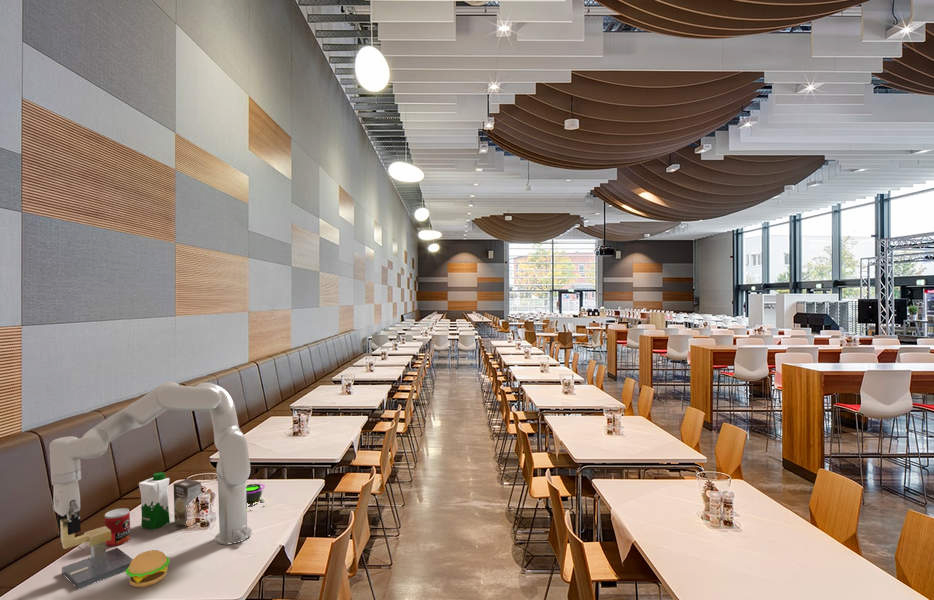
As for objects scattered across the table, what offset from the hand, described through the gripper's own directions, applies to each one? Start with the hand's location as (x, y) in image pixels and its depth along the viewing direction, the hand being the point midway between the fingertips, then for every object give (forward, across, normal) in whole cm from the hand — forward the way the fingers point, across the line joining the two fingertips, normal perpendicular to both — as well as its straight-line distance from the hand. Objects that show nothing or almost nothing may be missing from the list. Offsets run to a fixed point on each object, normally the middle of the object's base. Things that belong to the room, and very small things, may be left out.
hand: (69, 529), depth 165 cm
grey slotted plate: (+17, 0, +7) cm, 19 cm away
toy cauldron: (+18, -8, +66) cm, 69 cm away
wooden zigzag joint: (+7, 0, +4) cm, 8 cm away
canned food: (+17, -18, +19) cm, 31 cm away
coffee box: (+18, -13, +42) cm, 47 cm away
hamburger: (+18, +20, +15) cm, 30 cm away
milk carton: (+18, -21, +33) cm, 43 cm away
